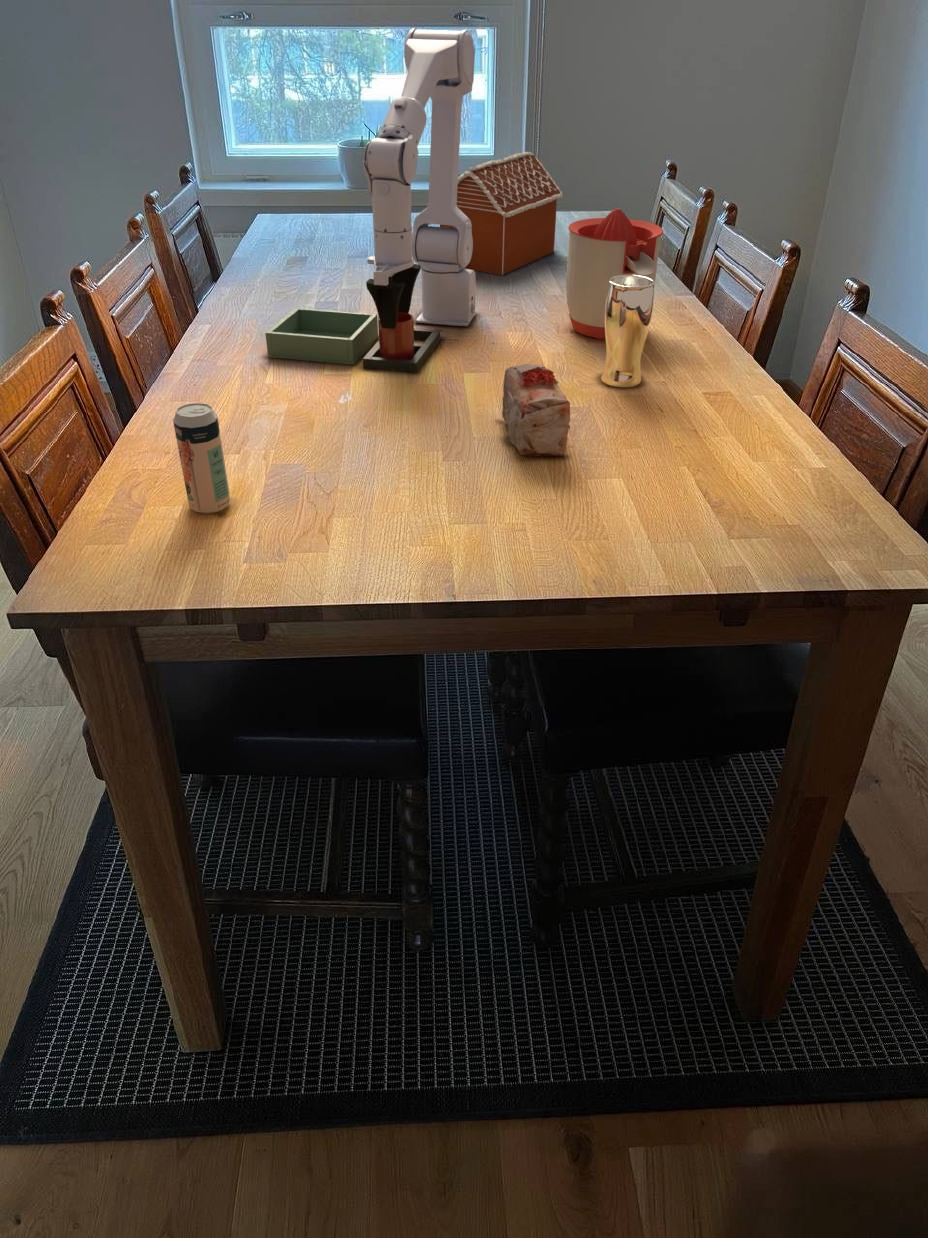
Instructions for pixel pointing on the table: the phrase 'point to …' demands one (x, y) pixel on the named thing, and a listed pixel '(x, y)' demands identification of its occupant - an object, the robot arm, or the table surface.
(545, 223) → the gingerbread house
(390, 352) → the cup
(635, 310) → the beer glass
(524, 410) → the food item
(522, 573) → the table surface
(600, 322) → the citrus juicer
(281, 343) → the basin
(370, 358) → the frame
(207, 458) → the beer can
